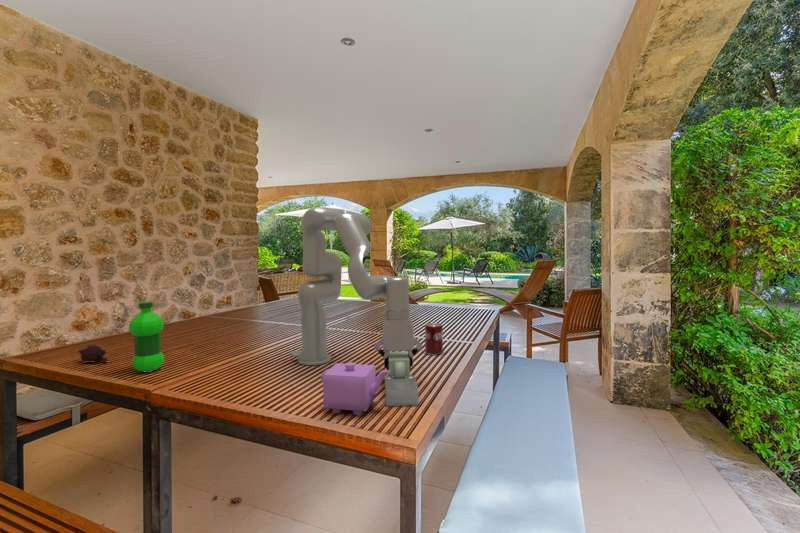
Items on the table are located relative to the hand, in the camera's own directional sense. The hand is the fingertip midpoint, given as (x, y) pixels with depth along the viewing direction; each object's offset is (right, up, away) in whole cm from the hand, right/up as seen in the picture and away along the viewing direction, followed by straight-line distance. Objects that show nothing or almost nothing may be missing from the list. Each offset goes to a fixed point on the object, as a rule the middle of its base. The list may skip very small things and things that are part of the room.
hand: (398, 368), depth 126 cm
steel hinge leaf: (+1, -5, -12) cm, 13 cm away
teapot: (-12, -6, -19) cm, 23 cm away
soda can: (+15, -3, +34) cm, 37 cm away
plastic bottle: (-91, -5, +15) cm, 93 cm away
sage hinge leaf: (0, -1, -2) cm, 2 cm away
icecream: (-121, -5, +26) cm, 124 cm away
